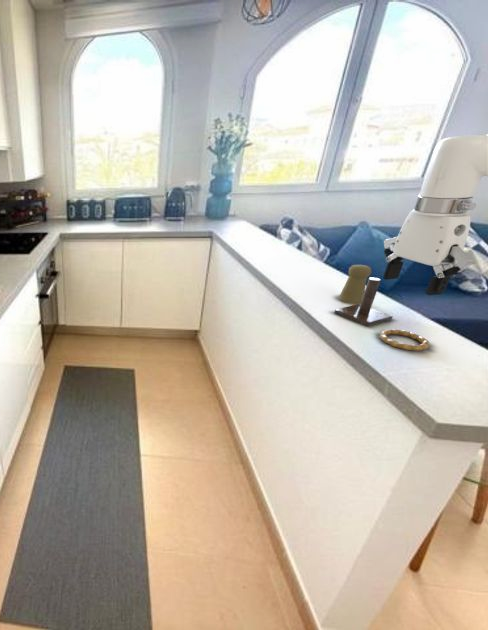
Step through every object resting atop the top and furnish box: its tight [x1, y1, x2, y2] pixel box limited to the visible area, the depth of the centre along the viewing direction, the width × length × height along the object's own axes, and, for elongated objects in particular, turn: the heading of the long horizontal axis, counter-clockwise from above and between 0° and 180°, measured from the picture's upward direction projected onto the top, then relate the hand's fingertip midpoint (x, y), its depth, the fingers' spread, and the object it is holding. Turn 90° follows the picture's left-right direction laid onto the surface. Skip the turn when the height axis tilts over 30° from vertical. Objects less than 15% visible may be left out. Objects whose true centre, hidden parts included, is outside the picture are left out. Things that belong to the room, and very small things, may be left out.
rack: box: [334, 277, 394, 327], centre depth 94 cm, size 9×9×11 cm
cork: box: [338, 264, 372, 305], centre depth 104 cm, size 6×6×11 cm
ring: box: [379, 329, 430, 352], centre depth 83 cm, size 9×9×1 cm
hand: (410, 286), depth 75 cm, fingers open, 9 cm apart
